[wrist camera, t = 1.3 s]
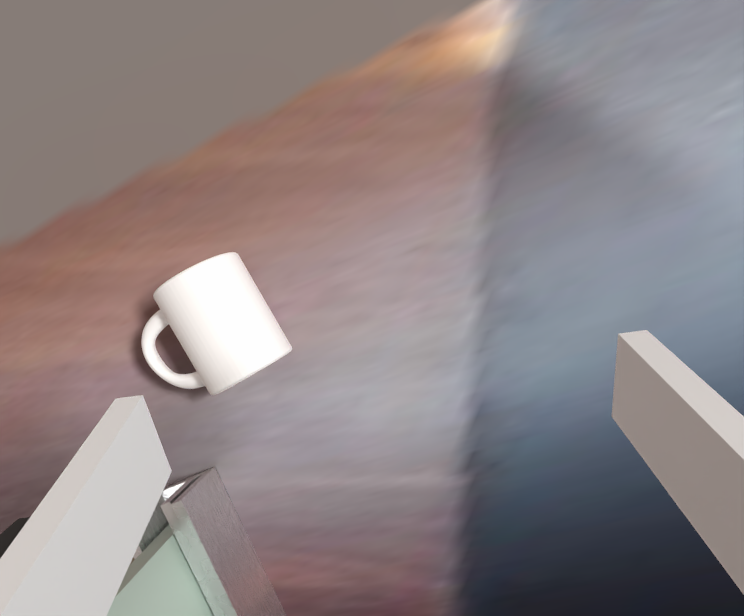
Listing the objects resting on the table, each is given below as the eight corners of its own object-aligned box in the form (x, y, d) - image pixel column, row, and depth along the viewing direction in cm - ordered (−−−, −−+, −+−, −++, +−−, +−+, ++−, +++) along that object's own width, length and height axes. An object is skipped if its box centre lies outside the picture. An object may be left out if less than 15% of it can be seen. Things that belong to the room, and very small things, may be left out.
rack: (300, 644, 52) (280, 704, 45) (150, 697, 55) (109, 761, 48) (214, 466, 51) (180, 500, 44) (65, 529, 54) (11, 570, 47)
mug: (249, 250, 49) (214, 250, 41) (302, 343, 49) (278, 360, 41) (147, 312, 50) (94, 324, 42) (199, 401, 51) (156, 428, 43)
